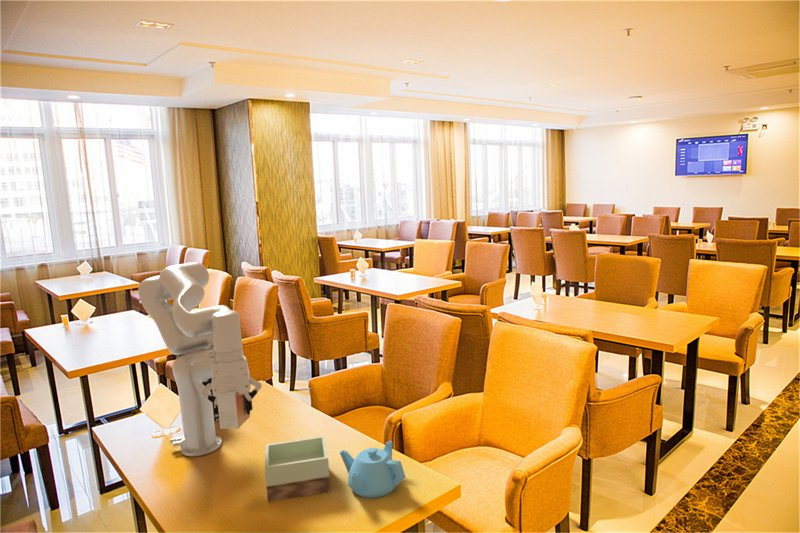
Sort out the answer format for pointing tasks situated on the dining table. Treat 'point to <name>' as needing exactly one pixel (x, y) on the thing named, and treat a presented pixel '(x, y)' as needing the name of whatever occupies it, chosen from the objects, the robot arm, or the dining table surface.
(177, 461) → the dining table surface
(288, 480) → the upper crate
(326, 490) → the lower crate
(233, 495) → the dining table surface
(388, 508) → the dining table surface
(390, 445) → the teapot
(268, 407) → the dining table surface
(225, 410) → the small box
